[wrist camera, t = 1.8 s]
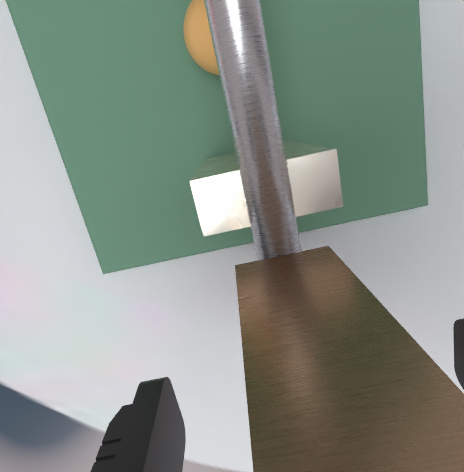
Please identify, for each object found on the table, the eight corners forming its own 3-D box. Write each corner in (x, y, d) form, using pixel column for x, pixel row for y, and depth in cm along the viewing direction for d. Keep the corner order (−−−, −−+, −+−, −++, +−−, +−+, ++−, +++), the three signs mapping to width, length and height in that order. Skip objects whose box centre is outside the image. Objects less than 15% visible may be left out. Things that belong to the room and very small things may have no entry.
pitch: (394, -285, 16) (405, -311, 15) (419, 202, 23) (428, 205, 22) (-45, -167, 17) (-61, -184, 16) (108, 268, 24) (103, 274, 23)
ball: (251, -8, 19) (258, -43, 15) (264, 72, 20) (274, 57, 16) (179, 10, 19) (168, -21, 15) (197, 87, 20) (190, 77, 16)
